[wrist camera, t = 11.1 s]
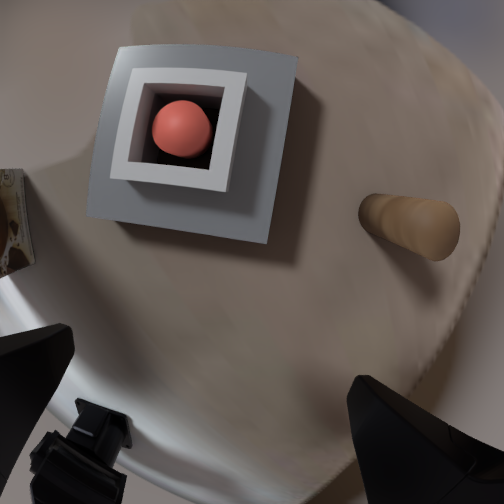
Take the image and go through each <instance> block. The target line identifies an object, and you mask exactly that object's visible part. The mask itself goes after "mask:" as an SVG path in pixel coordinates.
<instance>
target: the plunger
mask: <svg viewBox="0 0 504 504" xmlns="http://www.w3.org/2000/svg"><path fill="white" fill-rule="evenodd" d="M152 135H153V139H154V141H155V143H156V144H157V146H158V147H159V148H160V149H162V150H163V151H165V152H167V153H170V154H172V155H175V156H178V157H180V158H184V159H193V158H196V157H199V156H201V155H202V154H204V153H205V152H206V151H207V150H208V149H209V147H210V146H211V144H212V141H213V137H214V131H213V127H212V125H211V123H210V121H209V120H208V118H207V116H206V115H205V113H204V112H203V110H202V109H201V108H200V107H199V106H198V105H196V104H195V103H193V102H190V101H185V100H180V101H175V102H172V103H170V104H168V105H166V106H165V107H163V108H162V109H161V110H160V111H159V112H158V114H157V115H156V117H155V119H154V121H153V125H152Z"/></svg>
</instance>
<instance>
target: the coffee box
mask: <svg viewBox="0 0 504 504" xmlns="http://www.w3.org/2000/svg"><path fill="white" fill-rule="evenodd" d="M34 263H35V259H34V254H33V249H32V244H31V238H30V232H29V226H28V219H27V211H26V202H25V191H24V176H23V169H0V278H2V277H4V276H7V275H9V274H11V273H13V272H15V271H17V270H20V269H22V268H24V267H27V266H29V265H32V264H34Z"/></svg>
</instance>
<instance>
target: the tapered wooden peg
mask: <svg viewBox="0 0 504 504" xmlns="http://www.w3.org/2000/svg"><path fill="white" fill-rule="evenodd" d="M358 216H359V221H360V224H361V225H362V227H363V228H364V229H365V230H366V231H368V232H369V233H372V234H374V235H376V236H379V237H381V238H383V239H386V240H388V241H390V242H392V243H395V244H397V245H399V246H401V247H404V248H406V249H408V250H410V251H412V252H414V253H417V254H419V255H421V256H423V257H425V258H427V259H429V260H432V261H441V260H444V259H445V258H447V257H448V256H449V255H450V254H451V253H452V252H453V251H454V249H455V247H456V245H457V243H458V240H459V235H460V222H459V218H458V215H457V213H456V211H455V209H454V208H453V207H452V206H451V205H450V204H448V203H446V202H442V201H435V200H428V199H420V198H412V197H404V196H395V195H385V194H371V195H369V196H367V197H366V198H365V199H364V200H363V201H362V203H361V204H360V207H359V212H358Z"/></svg>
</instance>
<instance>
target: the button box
mask: <svg viewBox="0 0 504 504" xmlns="http://www.w3.org/2000/svg"><path fill="white" fill-rule="evenodd" d="M297 62H298V57H295V56H290V55H285V54H280V53H274V52H268V51H262V50H255V49H247V48H238V47H228V46H215V45H194V44H162V45H141V46H129V47H120V48H119V51H118V54H117V56H116V59H115V62H114V66H113V69H112V72H111V75H110V79H109V82H108V86H107V90H106V93H105V98H104V102H103V105H102V110H101V115H100V119H99V123H98V128H97V133H96V139H95V144H94V150H93V157H92V163H91V171H90V179H89V188H88V198H87V210H86V216H87V217H94V218H101V219H108V220H115V221H121V222H128V223H135V224H141V225H148V226H155V227H161V228H168V229H174V230H180V231H187V232H193V233H200V234H206V235H212V236H219V237H225V238H231V239H237V240H244V241H250V242H256V243H262V244H267V240H268V234H269V228H270V223H271V217H272V212H273V206H274V200H275V195H276V189H277V183H278V177H279V171H280V166H281V160H282V154H283V148H284V142H285V136H286V130H287V124H288V118H289V112H290V106H291V99H292V93H293V87H294V81H295V74H296V68H297ZM180 100H185V101H190V102H193V103H195V104H196V105H198V106H199V107H201V108H212V109H220V113H219V118H218V124H217V129H216V134H215V140H214V145H213V151H212V156H211V162H210V168H209V170H205V169H197V168H189V167H181V166H172V165H162V164H157V159H158V153H159V147H158V146H157V144H156V143H155V141H154V139H153V135H152V125H153V121H154V119H155V117H156V115H157V114H158V112H159V111H160V110H161V109H162V108H163V107H165V106H166V105H168V104H170V103H172V102H175V101H180Z"/></svg>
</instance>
